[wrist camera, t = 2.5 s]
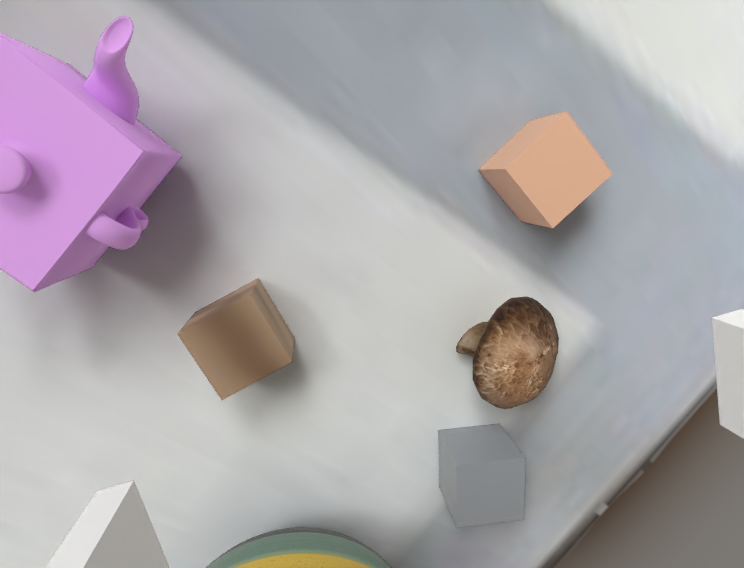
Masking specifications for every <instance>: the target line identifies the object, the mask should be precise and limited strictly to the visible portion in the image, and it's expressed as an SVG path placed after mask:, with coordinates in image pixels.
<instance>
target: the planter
mask: <svg viewBox="0 0 744 568" xmlns="http://www.w3.org/2000/svg"><path fill="white" fill-rule="evenodd" d="M206 568H391V567H390V566H389V565H388V564H387V562H386V561H385V560H384V559H382V558H381V557H380V556H379V555H378V554H377V553H375V552H374V551H373V550H371V549H370V548H368V547H367V546H365V545H364V544H362V543H360V542H358V541H357V540H355V539H352V538H350V537H348V536H345V535H342V534H339V533H336V532H333V531H329V530H324V529H318V528H304V527H302V528H287V529H280V530H275V531H271V532H268V533H264V534H261V535H259V536H256V537H253V538H251V539H248V540H246V541H244V542H242V543H240V544H238V545H236V546H235V547H233V548H231V549H230V550H228V551H227V552H225V553H224V554H222V555H221V556H220V557H218V558H217V559H216V560H214V561H213V562H212V563H211V564H210V565H208V566H207V567H206Z"/></svg>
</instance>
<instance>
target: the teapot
mask: <svg viewBox="0 0 744 568" xmlns="http://www.w3.org/2000/svg"><path fill="white" fill-rule="evenodd" d="M132 33H133V23H132V20H131V19H130V18H129V17H127V16H121V17H118V18H117V19H115V20H114V21H113V22H111V23H110V24H109V25H108V27H107V28H106V29H105V30H104V32H103V34H102V35H101V37H100V40H99V42H98V45H97V48H96V52H95V57H94V68H93V70H92V72H91V74H90V75H89V77H88V79H87V78H86V77H84V76H83V75H82V74H81V73H80V72H78V71H77V70H76V69H75V68H73V67H72V66H71V65H69V64H67V63H65V62H63V61H61V60H58V59H56V58H54V57H52V56H50V55H48V54H45V53H43V52H41V51H39V50H37V49H35V48H32V47H30V46H28V45H26V44H24V43H21V42H19V41H17V40H15V39H13V38H11V37H8V36H6V35H4V34H2V33H0V269H1V270H3V271H4V272H6V273H7V274H9V275H10V276H12V277H13V278H14V279H16V280H17V281H19V282H20V283H22V284H23V285H25V286H26V287H28V288H29V289H31V290H32V291H34V292H36V291H38V290H40V289H43V288H45V287H47V286H50V285H52V284H54V283H57V282H59V281H61V280H64V279H66V278H68V277H71V276H73V275H75V274H78V273H80V272H82V271H85V270H87V269H89V268H92V267H93V266H94V265H95V264H96V262H97V261H98V260H99V259H100V257H101V256H102V255H103V254H104V252H105V251H106V250H107V249H108V247H109V246H110V247H112V248H115V249H119V250H125V249H128V248H130V247H132V246H133V245H134V244H135V243H136V242H137V241H138V240H139V238H140V235H141V232H142V231H143V230H145V229H146V227H147V226H148V222H149V219H148V217H147V215H146V214H145V213H144V212H143V211H142V210H141V209H140V208H141V207H142V205H143V204H144V203H145V202H146V200H147V199H148V198H149V197H150V195H151V194H152V193H153V192H154V190H155V189H156V188H157V187H158V185H159V184H160V183H161V182H162V180H163V179H164V178H165V177H166V175H167V174H168V173H169V172H170V170H171V169H172V168H173V167H174V165H175V164H176V163H177V162H178V160H179V159H180V158H181V157H182V156H181V155H180V154H179V153H177V152H176V151H175V150H174V149H173V148H171V147H170V146H169V145H168V144H166V143H165V142H164V141H163V140H162V139H160V138H159V137H158V136H157V135H155V134H154V133H153V132H152V131H150V130H149V129H148V128H147V127H146V126H144V125H143V124H142V123H141V122H139V121H138V120H137V119H136V116H137V112H138V108H139V96H138V92H137V89H136V86H135V84H134V82H133V80H132V78H131V77H130V75H129V73H128V71H127V68H126V66H125V53H126V50H127V48H128V45H129V42H130V40H131V37H132Z"/></svg>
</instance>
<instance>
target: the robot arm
mask: <svg viewBox="0 0 744 568" xmlns="http://www.w3.org/2000/svg"><path fill="white" fill-rule="evenodd" d="M712 326H713V339H714V352H715V365H716V378H717V391H718V403H719V416H720V425H722V426H723V427H725V428H727V429H729V430H730V431H732V432H733V433H735V434H737V435H738V436H740V437H742V438H743V439H744V309H741V310H737V311H733V312H730V313H726V314H723V315H719V316H716V317H712ZM45 568H169V566H168V563H167V561H166V558H165V556H164V553H163V551H162V548H161V546H160V543H159V541H158V539H157V536H156V534H155V531H154V529H153V526H152V524H151V521H150V519H149V516H148V514H147V512H146V509H145V507H144V504H143V502H142V499H141V497H140V494H139V492H138V489H137V487H136V484H135V482H134V481H130V482H126V483H123V484H119V485H116V486H112V487H109V488H105V489H102V490H98V491H97V492H96V493H95V495H94V496H93V498H92V499H91V501H90V502H89V503H88V505H87V506H86V508H85V509H84V511H83V512H82V514H81V515H80V517H79V518H78V520H77V521H76V523H75V524H74V526H73V527H72V529H71V530H70V531H69V533H68V534H67V536H66V537H65V539H64V540H63V542H62V543H61V545H60V546H59V548H58V549H57V551H56V552H55V554H54V555H53V557H52V558H51V560H50V561H49V562H48V564H47V565H46V567H45Z"/></svg>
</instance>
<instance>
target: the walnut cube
mask: <svg viewBox="0 0 744 568" xmlns="http://www.w3.org/2000/svg"><path fill="white" fill-rule="evenodd" d="M178 336H179V337H180V339H181V340H182V342H183V343H184V345H185V346H186V348H187V349H188V351H189V352H190V354H191V355H192V356H193V358H194V359H195V361H196V362H197V364H198V365H199V367H200V368H201V370H202V371H203V373H204V374H205V376H206V377H207V379H208V380H209V382H210V383H211V385H212V386H213V388H214V389H215V391H216V392H217V394H218V395H219V397H220V398H221V400H223V399H225V398H227V397H228V396H230V395H232V394H234V393H236V392H238V391H240V390H241V389H243V388H245V387H247V386H249V385H251V384H252V383H254V382H256V381H258V380H260V379H262V378H264V377H265V376H267V375H269V374H271V373H273V372H275V371H276V370H278V369H280V368H282V367H284V366H286V365H287V364H289V363H291V362H292V356H293V344H294V336H293V335H292V333H291V331H290V330H289V328H288V326H287V325H286V323H285V321H284V320H283V318H282V316H281V315H280V313H279V311H278V310H277V308H276V306H275V305H274V303H273V301H272V300H271V298H270V296H269V295H268V293H267V291H266V290H265V288H264V286H263V285H262V283H261V282H260V280H259V278H258V279H256V280H254V281H252V282H251V283H249V284H247V285H245V286H243V287H241V288H239V289H238V290H236V291H234V292H232V293H230V294H228V295H227V296H225V297H223V298H221V299H219V300H217V301H215V302H214V303H212V304H210V305H208V306H206V307H204V308H202V309H201V310H199V311H197V312H195V313H194V315H193V316H192V317H191V318H190V320H189V321H188V322H187V323H186V324H185V326H184V327H183V328H182V329H181V330H180V332H179V333H178Z"/></svg>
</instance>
